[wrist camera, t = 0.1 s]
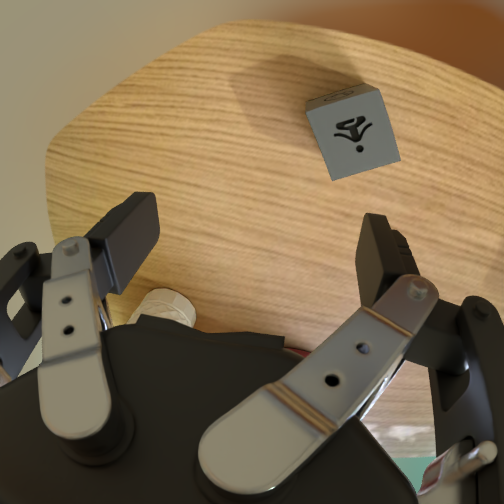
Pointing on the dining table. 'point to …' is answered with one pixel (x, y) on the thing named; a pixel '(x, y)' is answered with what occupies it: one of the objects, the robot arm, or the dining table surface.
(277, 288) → the dining table surface
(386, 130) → the dice cube
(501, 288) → the dining table surface
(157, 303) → the white cup
